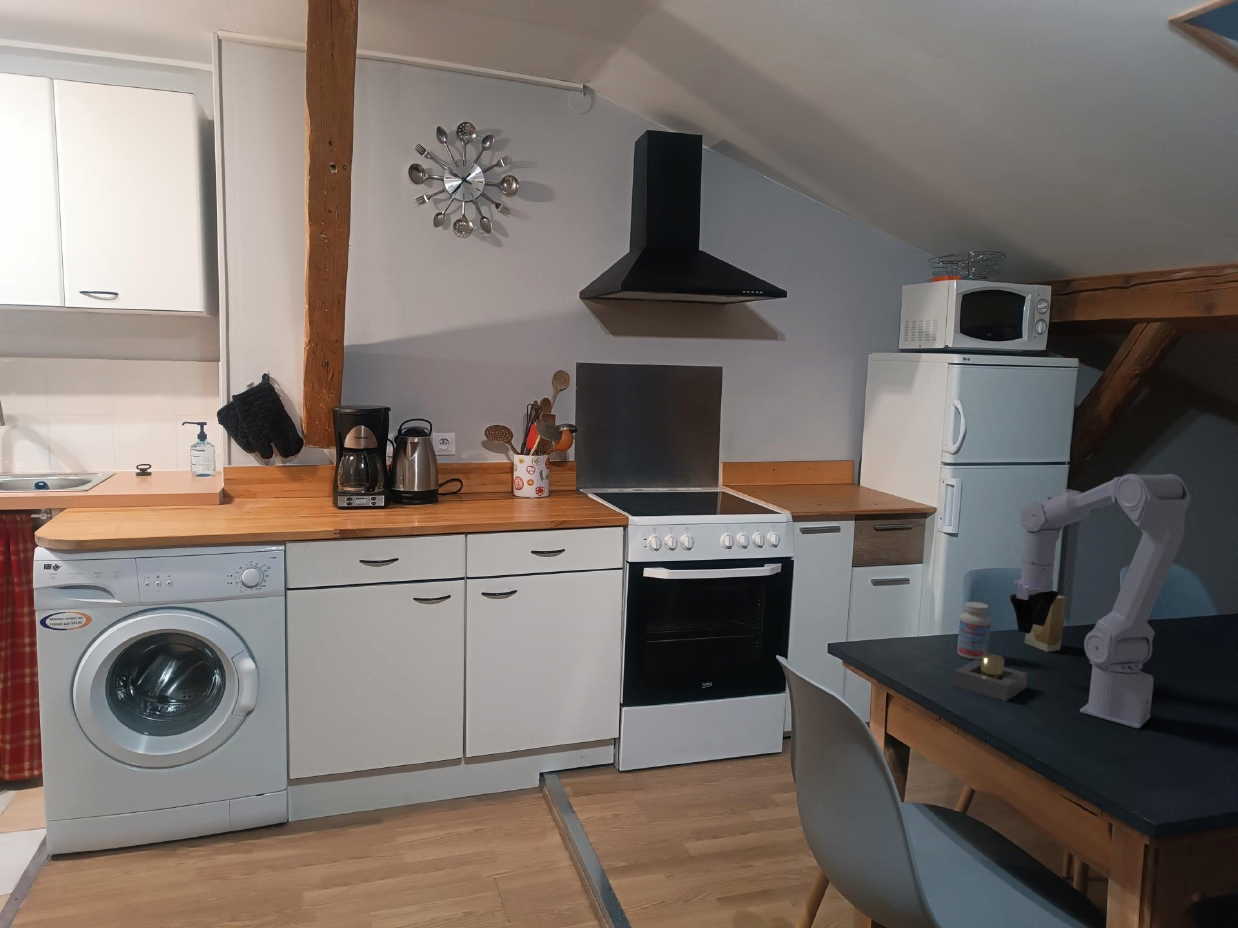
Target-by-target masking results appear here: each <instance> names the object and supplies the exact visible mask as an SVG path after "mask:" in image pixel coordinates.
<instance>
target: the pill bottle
mask: <svg viewBox="0 0 1238 928" xmlns="http://www.w3.org/2000/svg"><path fill="white" fill-rule="evenodd" d="M964 611H965V612H963V613H962V614H961V615H960V618H959V627H958V636H957V637H958V638H957V648H956V649H957V650H956V653H957V654H958V655H959V656H960V657H963V658H964V659H965V658H966V659H969V660H973V661H974V660H979V661H981V659H982V655H983V654H988V649H989V642H990V633H991V622H992V621H991V618H990V617H989V616H988V614H989V605H988V604H985V603H983V602H979V601H967V602H965V604H964Z"/></svg>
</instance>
